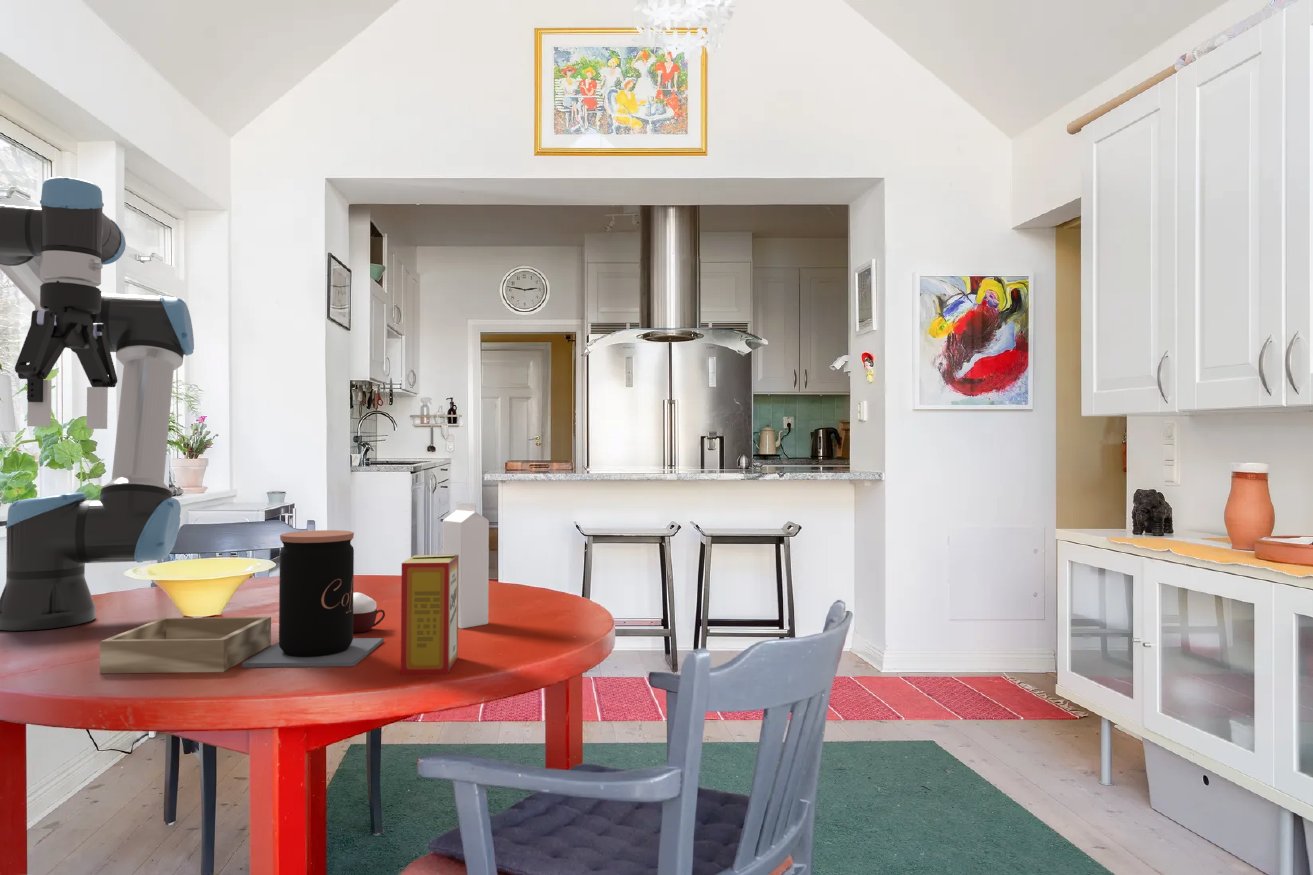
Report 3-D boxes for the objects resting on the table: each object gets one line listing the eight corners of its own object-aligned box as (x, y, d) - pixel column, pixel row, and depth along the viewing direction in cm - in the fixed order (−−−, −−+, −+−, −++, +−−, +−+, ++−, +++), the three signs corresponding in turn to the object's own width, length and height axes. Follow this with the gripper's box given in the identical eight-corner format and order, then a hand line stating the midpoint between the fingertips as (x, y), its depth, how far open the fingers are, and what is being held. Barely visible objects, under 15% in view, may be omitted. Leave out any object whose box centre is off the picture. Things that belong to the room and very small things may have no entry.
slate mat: (283, 642, 140) (283, 638, 140) (383, 641, 141) (383, 637, 141) (241, 667, 124) (241, 663, 124) (354, 666, 125) (354, 661, 125)
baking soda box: (447, 673, 121) (448, 560, 122) (400, 674, 121) (401, 560, 121) (457, 657, 131) (458, 552, 131) (414, 658, 130) (414, 552, 131)
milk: (460, 629, 152) (461, 504, 152) (441, 624, 156) (441, 502, 156) (489, 623, 156) (489, 502, 156) (469, 619, 160) (469, 501, 160)
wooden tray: (162, 645, 138) (162, 617, 138) (270, 644, 139) (271, 616, 139) (99, 673, 121) (100, 641, 121) (223, 671, 122) (223, 640, 122)
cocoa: (386, 629, 153) (390, 561, 154) (377, 635, 147) (381, 565, 148) (331, 627, 152) (336, 559, 153) (320, 633, 146) (325, 562, 147)
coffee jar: (328, 659, 126) (329, 537, 127) (263, 656, 129) (264, 535, 129) (366, 643, 137) (367, 530, 137) (305, 640, 139) (307, 529, 139)
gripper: (42, 267, 116) (39, 425, 115) (142, 300, 140) (141, 429, 140) (-16, 266, 115) (-19, 425, 115) (95, 299, 140) (93, 429, 140)
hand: (69, 427), depth 127 cm, fingers open, 13 cm apart
